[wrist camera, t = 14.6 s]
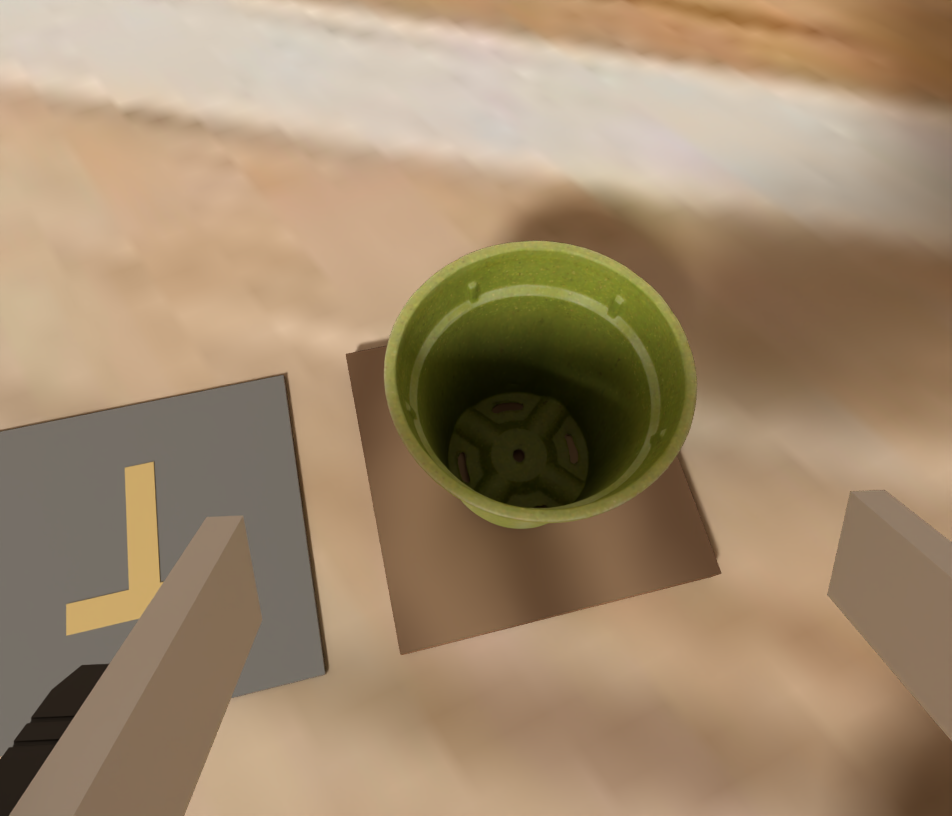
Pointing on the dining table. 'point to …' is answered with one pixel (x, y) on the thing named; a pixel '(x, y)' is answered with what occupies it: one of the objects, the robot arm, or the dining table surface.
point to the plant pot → (540, 382)
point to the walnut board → (509, 540)
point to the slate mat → (146, 533)
